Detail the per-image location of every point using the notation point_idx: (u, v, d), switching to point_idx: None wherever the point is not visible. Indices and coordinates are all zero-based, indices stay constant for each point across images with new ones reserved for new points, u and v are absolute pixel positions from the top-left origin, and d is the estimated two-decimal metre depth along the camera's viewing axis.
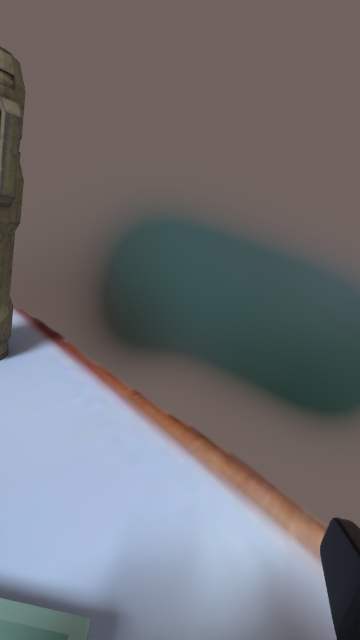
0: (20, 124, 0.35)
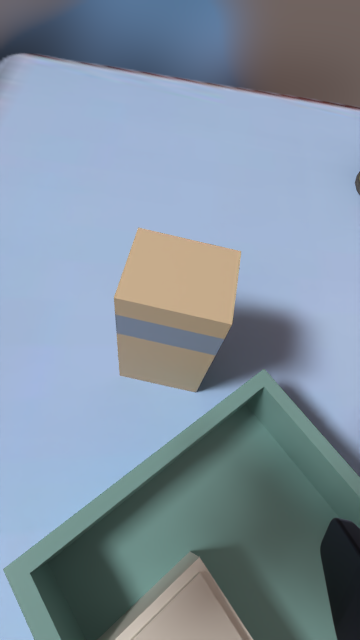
0: None
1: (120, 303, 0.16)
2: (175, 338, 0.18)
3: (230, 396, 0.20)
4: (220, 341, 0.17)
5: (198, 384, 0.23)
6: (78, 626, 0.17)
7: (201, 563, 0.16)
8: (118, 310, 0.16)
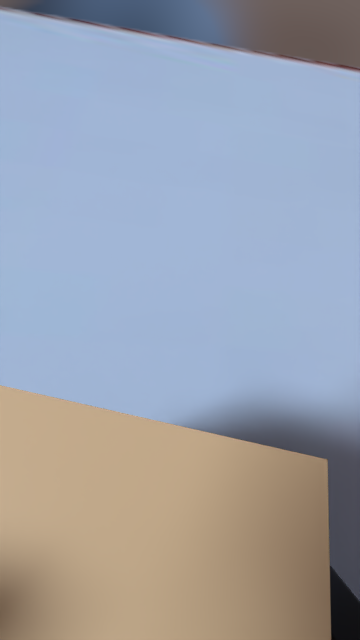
0: None
1: None
2: None
3: None
4: None
5: None
6: None
7: None
8: None
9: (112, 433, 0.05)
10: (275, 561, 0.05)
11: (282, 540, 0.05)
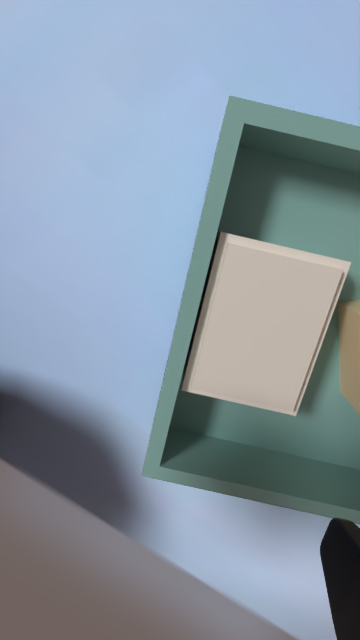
0: None
1: None
2: None
3: None
4: None
5: (352, 404, 0.19)
6: None
7: (347, 267, 0.15)
8: None
9: None
10: None
11: None
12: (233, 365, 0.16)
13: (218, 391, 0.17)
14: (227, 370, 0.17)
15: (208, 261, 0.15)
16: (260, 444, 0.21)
